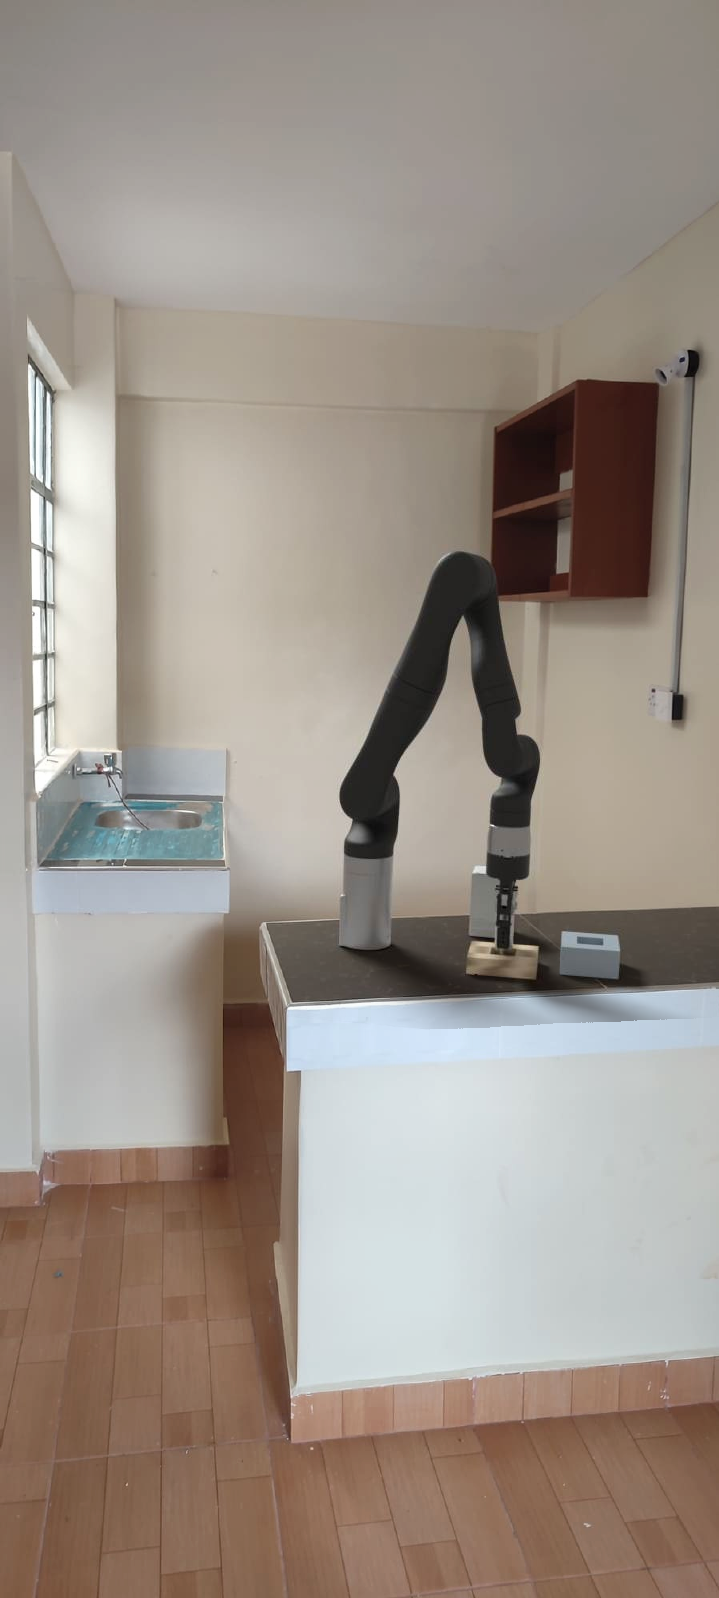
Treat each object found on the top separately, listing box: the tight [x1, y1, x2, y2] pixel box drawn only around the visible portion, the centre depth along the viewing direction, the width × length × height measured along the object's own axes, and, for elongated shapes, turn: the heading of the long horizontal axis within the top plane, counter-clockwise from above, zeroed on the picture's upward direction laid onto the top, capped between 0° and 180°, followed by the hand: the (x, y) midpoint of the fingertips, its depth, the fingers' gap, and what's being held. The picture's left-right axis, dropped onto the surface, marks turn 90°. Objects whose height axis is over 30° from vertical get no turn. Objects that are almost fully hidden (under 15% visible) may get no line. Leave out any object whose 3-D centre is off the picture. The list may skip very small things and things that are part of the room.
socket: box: [559, 930, 621, 980], centre depth 202 cm, size 10×10×5 cm
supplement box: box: [468, 865, 500, 939], centre depth 222 cm, size 7×7×13 cm
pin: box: [494, 900, 518, 956], centre depth 200 cm, size 4×4×12 cm
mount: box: [465, 940, 539, 981], centre depth 201 cm, size 12×10×3 cm
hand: (504, 942), depth 200 cm, fingers open, 6 cm apart
